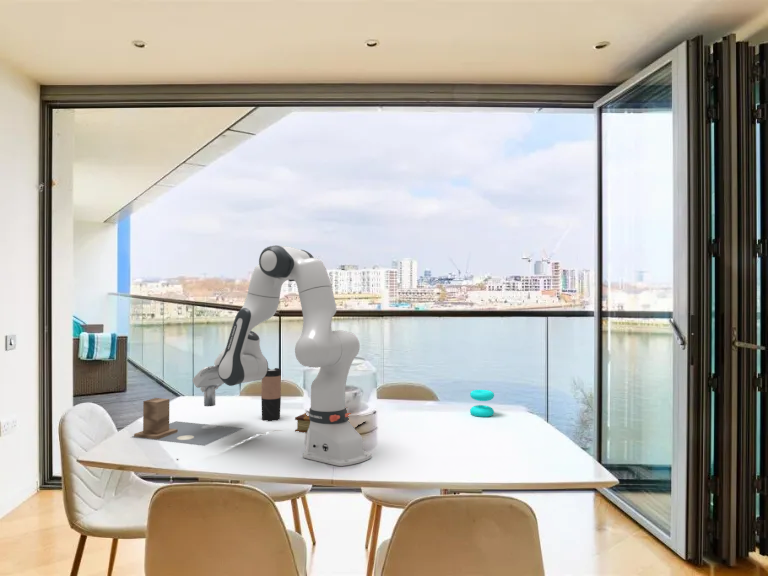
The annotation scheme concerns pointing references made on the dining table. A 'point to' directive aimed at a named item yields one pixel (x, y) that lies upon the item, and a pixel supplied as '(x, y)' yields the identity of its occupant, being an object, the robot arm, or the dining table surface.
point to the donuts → (482, 409)
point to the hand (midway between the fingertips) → (208, 389)
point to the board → (196, 433)
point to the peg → (209, 396)
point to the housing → (156, 419)
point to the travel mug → (271, 395)
